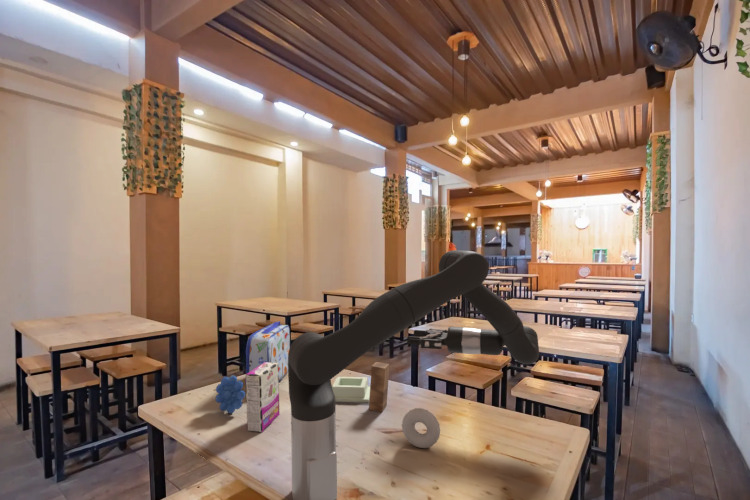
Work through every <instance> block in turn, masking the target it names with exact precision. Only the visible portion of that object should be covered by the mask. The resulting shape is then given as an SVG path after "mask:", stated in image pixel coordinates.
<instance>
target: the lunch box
mask: <svg viewBox="0 0 750 500" xmlns="http://www.w3.org/2000/svg"><path fill="white" fill-rule="evenodd" d="M290 331H291V330H290V326H289V325H288V324H281V321H275V322H273V323H271V324H268V325H267V326H264V327H262V328H261V329H258V330H256V331H255V332H253V333H251V334H250V336H249V337H248V339H247V342H246V345H245V346H246V348H245V356H246V357H245V362H246V363H245V366H246V367H245V368H246V369H245V375H246V374H247V373H249V372H250V371H252V370H254V369H255V368H257V367H258V366H260V365H261V364H263V363H264V362H273V363H278V378H279V382H281V381H282V380H283V378H284V377H285V376H286V375H287V374H288V354H289V349H290V346H291V338H290V337H291V334H290V333H291V332H290ZM244 379H245V381H244V383H245V385H246V377H245V378H244Z"/></svg>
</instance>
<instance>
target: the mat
mask: <svg viewBox="0 0 750 500" xmlns="http://www.w3.org/2000/svg"><path fill="white" fill-rule="evenodd" d="M335 405H338V406H339V405H341V406H342V405H343V406H369V403H365V402H335Z"/></svg>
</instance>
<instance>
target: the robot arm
mask: <svg viewBox="0 0 750 500" xmlns="http://www.w3.org/2000/svg"><path fill="white" fill-rule="evenodd" d="M489 271H490V264H489V261H488V260H487V258H486V257H485V256H484V255H483V254H481V253H479V252H476V251H472V250H461V249H460V250H459V249H455V250H454V249H453V250H449V251H447V252H445V253H443V255H441V258H440V259H439V262H438V272H437V273H436V274H432V275H431V276H426V277H423V278H419V279H416V280H411V281H408V282H405V283H402V284H400V285H397V286H396V287H393V288H391V289H389V290H388V291H386V292H384V293H382V294H381V295H379V296H378V297H376V298H375V299H373V300H372V301H371V302H370V303H369V304H368V305H367V306H365V307H364V309H363V310H362V311H361V313H359V315H357V316H356V318H354V319H353V320H352V321H351V322H350V323H348V324H347V325H345V326H344V327H342V328H339V329H338V330H336V331H333V332H331V333H330V334H328V335H325V336H324V335H322V334H320V333H317V332H311V331H310V332H305V333H302V334H300V335H298V336H297V337H296V338H295V339H294V340H293V341H292V343H290V349H289V354H288V372H287V374H288V395H289V401H290V415H291V416H290V421H291V429H290V430H291V432H290V433H291V434H290V436H291V438H290V439H291V496H292V500H337V499H338V470H337V469H338V463H337V462H338V460H337V458H338V456H337V455H338V454H337V439H336V436H337V434H336V431H337V429H336V426H337V425H336V417H337V416H336V409H337V408H336V404H335V396H334V393H333V389H332V386H333V384H332V379H333V378H335V376H338V375H339V374H340V373H341V372H342V371H343V370H346V368H347V367H349V366H350V365H351V364H353V363H354V362H355V361H357V360H358V359H359V358H360V357H362V356H363V355H365V354H366V353H368V352H369V351H371V350H373V349H374V348H376V347H377V346H379V345H381V344H382V343H384V342H385V341H387V340H388V339H390V338H392V337H393V336H395V335H397V334H399V333H401V332H402V331H404V330H405V329H407V328H408V327H411V326H412V325H414V324H415V323H417V322H418V321H419V320H420V319H421V320H422V318H424V317H426V316H427V315H429V314H430V313H432V312H434V311H435V310H437V309H438V308H440V307H442V306H443V305H444V304H447V303H448V302H450V301H451V300H454V299H456V298H458V297H460V296H463V297H464V298H465V299H466V301H468V302H469V303H470V304H472V306H473V307H474V308H475V309H477V311H479V313H480V314H481V315H482V316H483V317H484V319H486V321H487V322H488V323H489V324H490V325H491V326H492V328H493V329H483V328H476V327H475V328H474V327H465V326H464V327H463V326H449V327H448V328H447V329H441V328H429V329H425V330H424V329H423V330H422V329H415V330H414V331H413V336H411V335H410V336H407V338H406V343H407V344H408V345H416V346H420V348H421V349H432V350H442V347H443V346H445V347H447V348H446V349H447V352H448V353H452V354H465V355H487V356H499V355H501V353H502V352H503V349H504V347H506V349H507V351H508V352H509V354H510V356H511V357H512V358H513V359H514V360H515V361H516V362H518V363H519V364H523V365H531V364H535V363H536V362H537V361H538V360H539V357H540V349H539V336H538V334H537V332H536V330H535V329H534V328H531V327H530V326H526V325H524V324H523V321H522V320H521V318H520V316H519V315H518V314H517V313H516V312H515V311H514V309H513V308H512V307H511V306H510V305H509V304H508V303H507V302H506V301H505V300H504V299H502V297H500V296H499V295H498V294H496V293H495V292H493V291H492V290H491V289H490V288H488V287H487V286H485V285H484V284H483V283H484V282H485V280H486V279H487V277H488V275H489Z"/></svg>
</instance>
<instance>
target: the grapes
mask: <svg viewBox="0 0 750 500" xmlns="http://www.w3.org/2000/svg"><path fill="white" fill-rule="evenodd" d="M243 386H244V383H243V381H242V380H238V378H237V376H236V375H231V376H229V377H228V376H223V377H222V378H221V381H220V383H218V384H217V386H216V387H215V391H216V393H217V395H216V396H215V402H216V403H217V404H219V409H220V411H221V412H224V411H226V412H227V413H228V414H233V413H235V411H236V410H239V409H240V408H242V406H243V400H244V399H245V397H246V391H244V390H242V389H243V388H244V387H243Z"/></svg>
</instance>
